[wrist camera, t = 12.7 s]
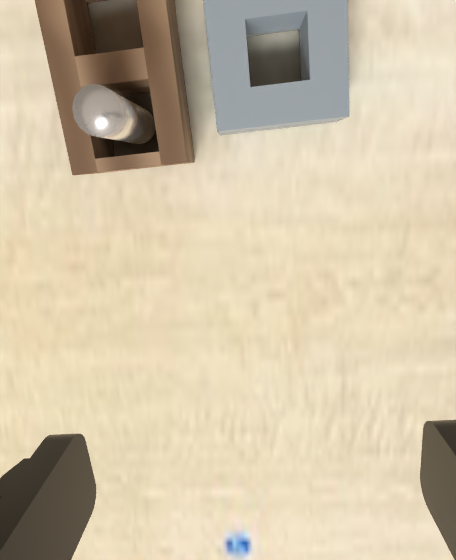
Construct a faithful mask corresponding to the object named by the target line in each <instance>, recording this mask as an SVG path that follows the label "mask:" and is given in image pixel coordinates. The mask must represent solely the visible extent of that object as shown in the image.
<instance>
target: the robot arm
mask: <svg viewBox="0 0 456 560" xmlns="http://www.w3.org/2000/svg"><path fill="white" fill-rule="evenodd" d="M420 481H421V488H422V493H423V496H424V499H425V502H426V505H427V507H428V509H429V511H430V513H431V515H432V517H433V519H434V521H435V523H436V525H437V526H438V528H439V530H440V532H441V534H442V536H443V538H444V540H445V542H446V544H447V546H448V548H449V550H450V552H451V554H452V555H453V557H454V559H455V560H456V420H442V421H427V422H426V423H425V424H424V428H423V440H422V455H421V470H420ZM95 499H96V484H95V479H94V475H93V470H92V466H91V462H90V458H89V453H88V449H87V445H86V441H85V438H84V436H83V435H82V434H61V435H49V436H47V437H46V438H45V439H44V440H43V441H42V443H41V444H40V445H39V447H38V448H37V450H36V451H35V452H34V454H33V455H32V456H31V458H28V459H23V460H22V461H21V462H19V463H18V464H17V465H16V466H14V467H13V468H12V469H11V470H9V471H8V472H7V473H5V474H4V475H3V476H2V477H1V478H0V560H71V559H72V556H73V554H74V552H75V550H76V548H77V545H78V543H79V541H80V539H81V537H82V534H83V532H84V530H85V528H86V525H87V523H88V521H89V519H90V517H91V514H92V512H93V509H94V505H95Z"/></svg>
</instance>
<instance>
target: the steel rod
mask: <svg viewBox="0 0 456 560" xmlns="http://www.w3.org/2000/svg"><path fill="white" fill-rule="evenodd" d="M72 110H73V116H74V119H75V121H76V123H77V124H78V126H79V127H80V128H81V129H82V130H83V131H84V132H86V133H87V134H89V135H92V136H96V137H101V138H107V139H112V140H118V141H124V142H129V143H135V144H143V143H146V142H148V141H149V140H150V139H151V138H152V137H153V135H154V132H155V121H154V118H153V116H152V115H151V114H150V112H149V111H147V110H146V109H144V108H142V107H140V106H139V105H137V104H135V103H133V102H131V101H130V100H128V99H126V98H124V97H122V96H121V95H119V94H117V93H115V92H113V91H112V90H110V89H108V88H106V87H104V86H102V85H98V84H90V85H87V86H84V87H83V88H81V89H80V90H79V91H78V92H77V94H76V95H75V97H74V100H73V106H72Z"/></svg>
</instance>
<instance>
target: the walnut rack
mask: <svg viewBox="0 0 456 560" xmlns="http://www.w3.org/2000/svg"><path fill="white" fill-rule="evenodd" d="M98 1H105V0H35V4H36V8H37V13H38V18H39V22H40V27H41V31H42V36H43V41H44V45H45V50H46V55H47V59H48V64H49V68H50V73H51V78H52V82H53V87H54V91H55V96H56V101H57V105H58V110H59V115H60V119H61V124H62V128H63V133H64V138H65V142H66V147H67V152H68V156H69V161H70V165H71V170H72V175H81V174H95V173H104V172H113V171H122V170H131V169H140V168H149V167H157V166H166V165H175V164H184V163H193V162H195V161H194V154H193V146H192V138H191V130H190V122H189V114H188V106H187V98H186V90H185V82H184V74H183V66H182V58H181V51H180V43H179V35H178V27H177V19H176V11H175V3H174V0H136V1H137V8H138V14H139V21H140V28H141V34H142V41H143V48H135V49H128V50H120V51H113V52H105V53H97V54H96V50H95V45H94V40H93V34H92V29H91V23H90V18H89V12H88V7H87V3H91V2H98ZM90 84H98V85H102V86H104V87H106V88H108V89H110V90H112V91H113V92H115V93H117V94H119V95H121V96H126V95H134V94H142V93H150V94H151V101H152V107H153V114H154V121H155V127H156V134H157V140H158V147H159V152H150V153H142V154H133V155H124V156H116V157H115V154H114V149H113V143H112V139H107V138H101V137H96V136H92V135H89V134H87V133H86V132H84V131H83V130H82V129H81V128H80V127H79V126H78V124H77V123H76V121H75V119H74V116H73V110H72V106H73V100H74V97H75V95H76V94H77V92H78V91H79V90H80V89H81V88H83V87H84V86H87V85H90Z"/></svg>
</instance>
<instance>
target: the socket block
mask: <svg viewBox="0 0 456 560" xmlns="http://www.w3.org/2000/svg"><path fill="white" fill-rule="evenodd" d="M203 3H204V12H205V21H206V31H207V40H208V49H209V58H210V68H211V77H212V86H213V96H214V105H215V114H216V124H217V132H218V133H219V134H220V135H226V134H234V133H243V132H251V131H260V130H269V129H277V128H286V127H294V126H303V125H312V124H320V123H329V122H337V121H339V120H341V119H344V118H346V117H349V57H348V0H203ZM292 30H299V38H300V60H301V81H296V82H288V83H280V84H272V85H263V86H255V87H250V75H249V63H248V51H247V38H246V36H254V35H262V34H269V33H277V32H284V31H292Z"/></svg>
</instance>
